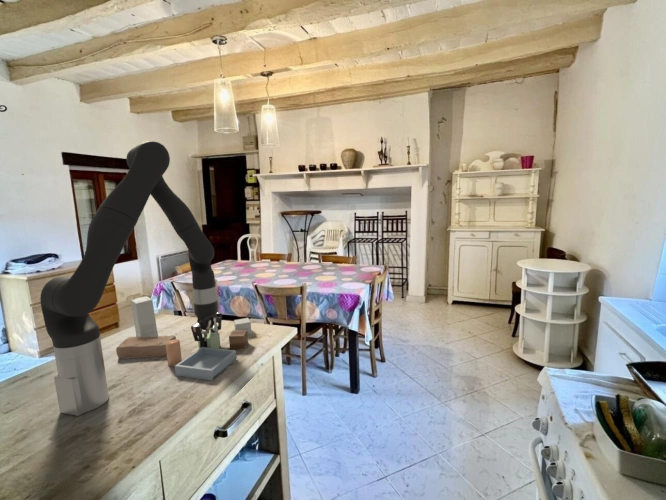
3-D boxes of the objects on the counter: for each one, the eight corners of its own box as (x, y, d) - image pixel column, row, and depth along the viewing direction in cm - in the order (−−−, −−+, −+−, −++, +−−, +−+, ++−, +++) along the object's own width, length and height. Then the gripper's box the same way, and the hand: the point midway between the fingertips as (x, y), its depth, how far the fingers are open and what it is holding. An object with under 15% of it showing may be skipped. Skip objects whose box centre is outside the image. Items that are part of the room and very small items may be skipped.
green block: (211, 353, 110) (210, 339, 109) (199, 351, 111) (197, 337, 110) (220, 346, 115) (219, 333, 114) (208, 345, 116) (207, 331, 115)
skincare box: (158, 337, 124) (154, 299, 122) (140, 342, 120) (135, 303, 117) (151, 331, 130) (147, 295, 128) (134, 335, 126) (129, 298, 123)
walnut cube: (244, 349, 112) (243, 336, 111) (229, 350, 112) (228, 336, 111) (248, 343, 117) (247, 330, 116) (234, 343, 117) (233, 330, 116)
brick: (178, 345, 117) (176, 333, 116) (169, 356, 109) (167, 343, 108) (129, 349, 115) (127, 336, 115) (116, 360, 107) (114, 347, 106)
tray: (212, 380, 93) (211, 370, 92) (175, 375, 96) (174, 365, 96) (236, 359, 105) (236, 350, 104) (203, 355, 108) (202, 346, 108)
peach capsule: (175, 366, 101) (173, 345, 100) (165, 365, 102) (162, 344, 101) (184, 360, 105) (182, 340, 104) (174, 359, 106) (172, 338, 105)
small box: (249, 329, 130) (248, 317, 129) (251, 334, 125) (251, 322, 124) (234, 331, 128) (233, 319, 127) (236, 337, 122) (235, 324, 122)
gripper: (201, 307, 102) (205, 358, 105) (227, 294, 116) (230, 339, 119) (181, 306, 104) (186, 355, 107) (209, 293, 118) (212, 337, 121)
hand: (209, 347), depth 113 cm, fingers closed on green block, 5 cm apart
